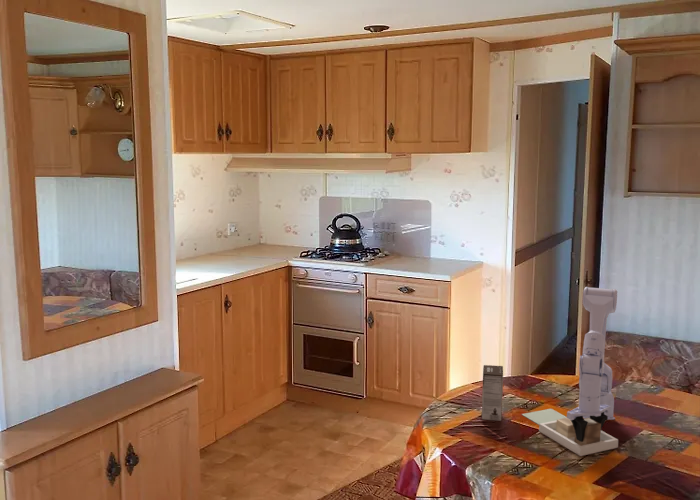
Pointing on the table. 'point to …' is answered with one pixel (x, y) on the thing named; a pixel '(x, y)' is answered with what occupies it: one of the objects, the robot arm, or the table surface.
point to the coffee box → (492, 392)
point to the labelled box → (590, 433)
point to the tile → (544, 416)
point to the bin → (604, 444)
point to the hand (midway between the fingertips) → (587, 438)
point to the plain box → (565, 427)
